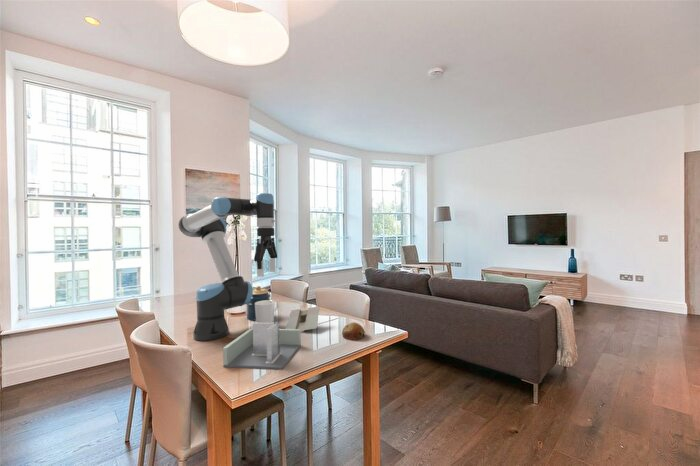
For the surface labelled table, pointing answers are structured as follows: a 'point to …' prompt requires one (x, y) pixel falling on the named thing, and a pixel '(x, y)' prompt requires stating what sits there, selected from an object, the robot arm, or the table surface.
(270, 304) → the candle holder
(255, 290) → the canister
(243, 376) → the table surface
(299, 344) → the corner tray
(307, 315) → the wall
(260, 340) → the angle bracket
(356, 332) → the bread roll
